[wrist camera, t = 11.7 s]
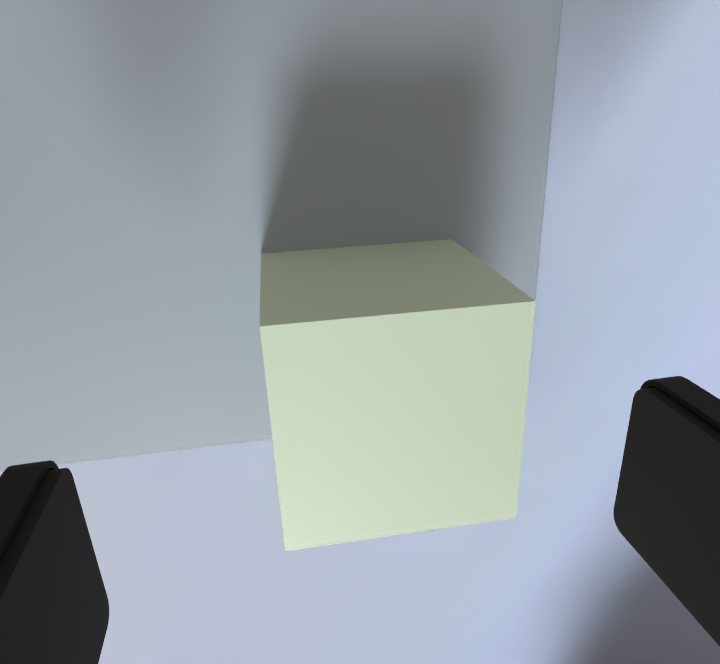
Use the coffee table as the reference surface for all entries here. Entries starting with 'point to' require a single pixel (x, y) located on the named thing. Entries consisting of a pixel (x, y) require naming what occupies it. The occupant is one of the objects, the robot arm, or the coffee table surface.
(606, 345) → the coffee table surface
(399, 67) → the board
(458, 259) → the sage block
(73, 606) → the robot arm
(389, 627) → the coffee table surface
